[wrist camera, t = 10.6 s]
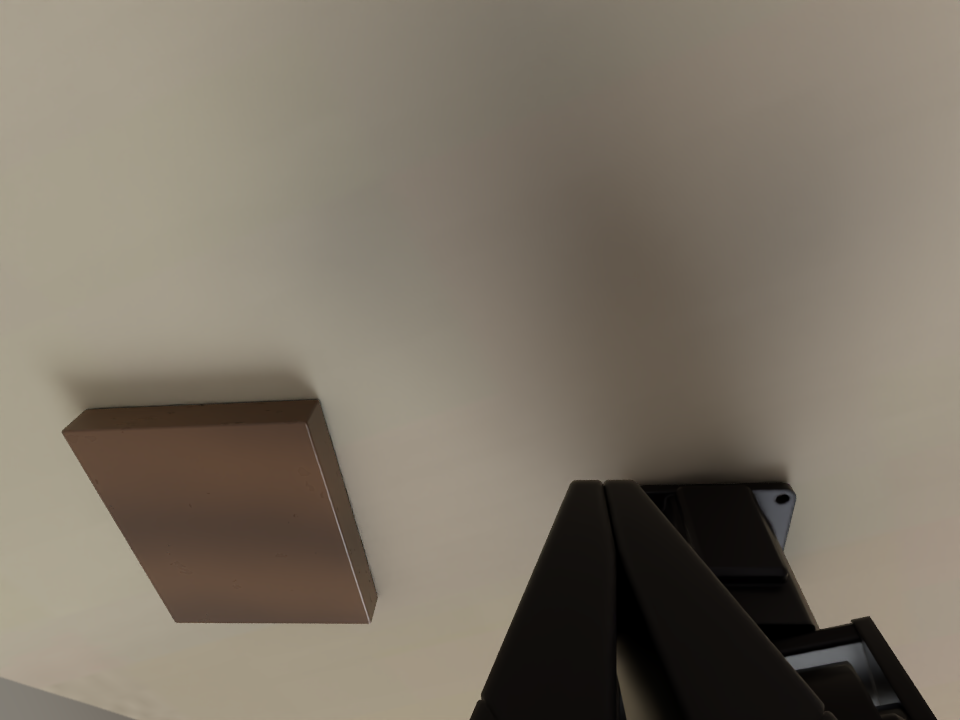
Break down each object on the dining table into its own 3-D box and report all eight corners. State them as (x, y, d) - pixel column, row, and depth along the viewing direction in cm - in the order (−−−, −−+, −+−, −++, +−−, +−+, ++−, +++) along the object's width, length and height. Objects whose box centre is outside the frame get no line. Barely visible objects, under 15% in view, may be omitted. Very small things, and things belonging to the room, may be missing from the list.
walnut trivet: (378, 597, 28) (371, 624, 27) (190, 597, 30) (175, 623, 28) (319, 398, 22) (306, 422, 21) (85, 408, 24) (59, 431, 22)
